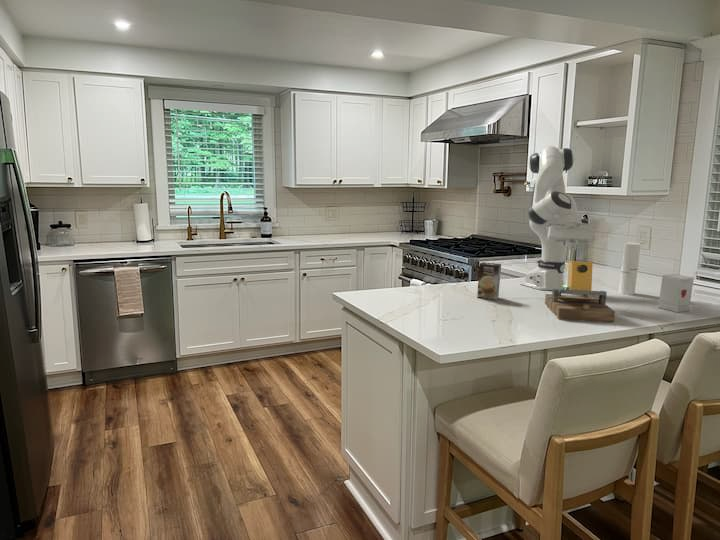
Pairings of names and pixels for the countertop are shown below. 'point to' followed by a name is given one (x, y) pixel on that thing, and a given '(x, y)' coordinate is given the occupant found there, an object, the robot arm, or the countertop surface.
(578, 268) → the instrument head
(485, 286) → the coffee box
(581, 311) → the tribrach stand
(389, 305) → the countertop surface
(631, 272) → the cylindrical container
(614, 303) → the countertop surface
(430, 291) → the countertop surface
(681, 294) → the supplement box
